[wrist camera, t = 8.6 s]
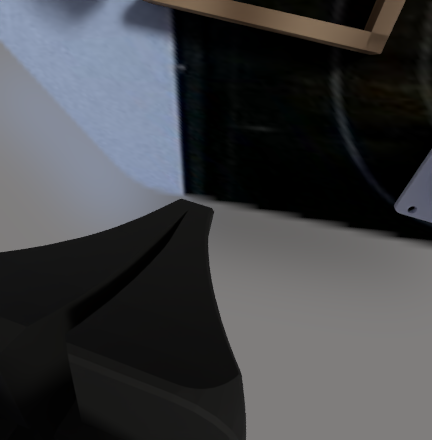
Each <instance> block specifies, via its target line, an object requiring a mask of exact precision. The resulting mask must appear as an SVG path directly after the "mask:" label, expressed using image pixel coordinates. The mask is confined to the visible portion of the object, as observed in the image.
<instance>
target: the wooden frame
mask: <svg viewBox="0 0 432 440" xmlns="http://www.w3.org/2000/svg"><path fill="white" fill-rule="evenodd" d="M143 1H146V2H148V3H152V4H156V5H160V6H164V7H169V8H173V9H177V10H181V11H186V12H190V13H194V14H198V15H203V16H207V17H211V18H216V19H220V20H224V21H228V22H233V23H237V24H241V25H245V26H250V27H254V28H258V29H262V30H267V31H271V32H275V33H279V34H284V35H288V36H292V37H297V38H301V39H305V40H309V41H314V42H318V43H322V44H326V45H331V46H335V47H339V48H343V49H348V50H352V51H356V52H360V53H365V54H369V55H372V54H381V52H382V50H383V48H384V46H385V43H386V41H387V39H388V37H389V35H390V33H391V31H392V28H393V26H394V24H395V22H396V20H397V18H398V16H399V13H400V11H401V9H402V7H403V5H404V3H405V1H406V0H376V2H375V5H374V7H373V9H372V12H371V14H370V17H369V19H368V21H367V24H366V26H365V29H364V30H360V29H355V28H351V27H347V26H342V25H338V24H333V23H329V22H324V21H320V20H316V19H311V18H307V17H302V16H298V15H294V14H289V13H285V12H280V11H276V10H271V9H267V8H263V7H258V6H254V5H249V4H245V3H240V2H236V1H232V0H143Z"/></svg>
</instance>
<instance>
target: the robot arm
mask: <svg viewBox="0 0 432 440" xmlns="http://www.w3.org/2000/svg"><path fill="white" fill-rule="evenodd" d="M412 206H415V208H414V209H413V210H410V211H409V210H408V208H409V207H412ZM394 208H395V210H396V211H397V212H398V213H400V214H403V215H407V216H410V217H413V218H417V219H420V220H424V221H427V222H431V223H432V149H431V151H430V152H429V154H428V155H427V157H426V158H425V160H424V161H423V162H422V164H421V165H420V167H419V168H418V170H417V171H416V173H415V174H414V176H413V177H412V179H411V180H410V182H409V183H408V185H407V186H406V188H405V189H404V191H403V192H402V194H401V195H400V197H399V198H398V200H397V201H396V203H395V205H394ZM213 214H214V211H213V209H212V208H210V207H206V206H203V205H200V204H197V203H194V202H190V201H187V200H184V199H179V200H177V201H175V202H173V203H171V204H169V205H167V206H165V207H163V208H160V209H158V210H156V211H154V212H152V213H150V214H147V215H145V216H143V217H140V218H138V219H136V220H133V221H130V222H128V223H125V224H123V225H120V226H118V227H115V228H112V229H109V230H106V231H103V232H99V233H96V234H92V235H89V236H85V237H81V238H77V239H73V240H68V241H64V242H59V243H55V244H50V245H45V246H39V247H34V248H28V249H21V250H14V251H8V252H0V440H246V413H245V402H244V393H243V383H242V375H241V372H240V369H239V367H238V364H237V362H236V360H235V357H234V355H233V352H232V349H231V347H230V344H229V341H228V339H227V336H226V333H225V330H224V327H223V324H222V321H221V317H220V313H219V310H218V306H217V302H216V299H215V295H214V290H213V285H212V280H211V274H210V267H209V255H208V235H209V231H210V227H211V222H212V218H213Z"/></svg>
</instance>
